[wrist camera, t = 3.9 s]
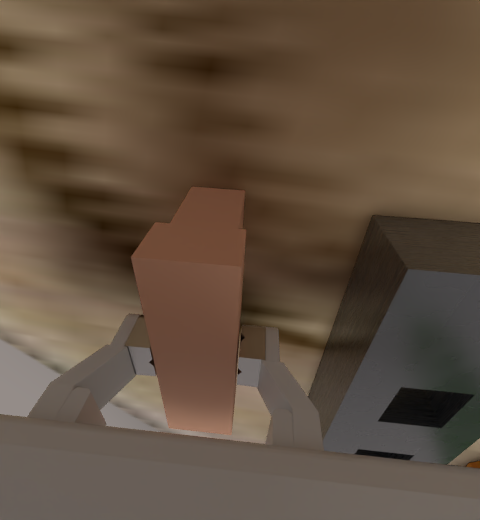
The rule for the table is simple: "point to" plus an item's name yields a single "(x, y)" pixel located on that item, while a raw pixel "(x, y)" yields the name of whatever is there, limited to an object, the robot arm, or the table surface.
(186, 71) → the table surface
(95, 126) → the table surface
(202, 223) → the brown block
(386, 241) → the grey metal flat block
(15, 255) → the table surface
